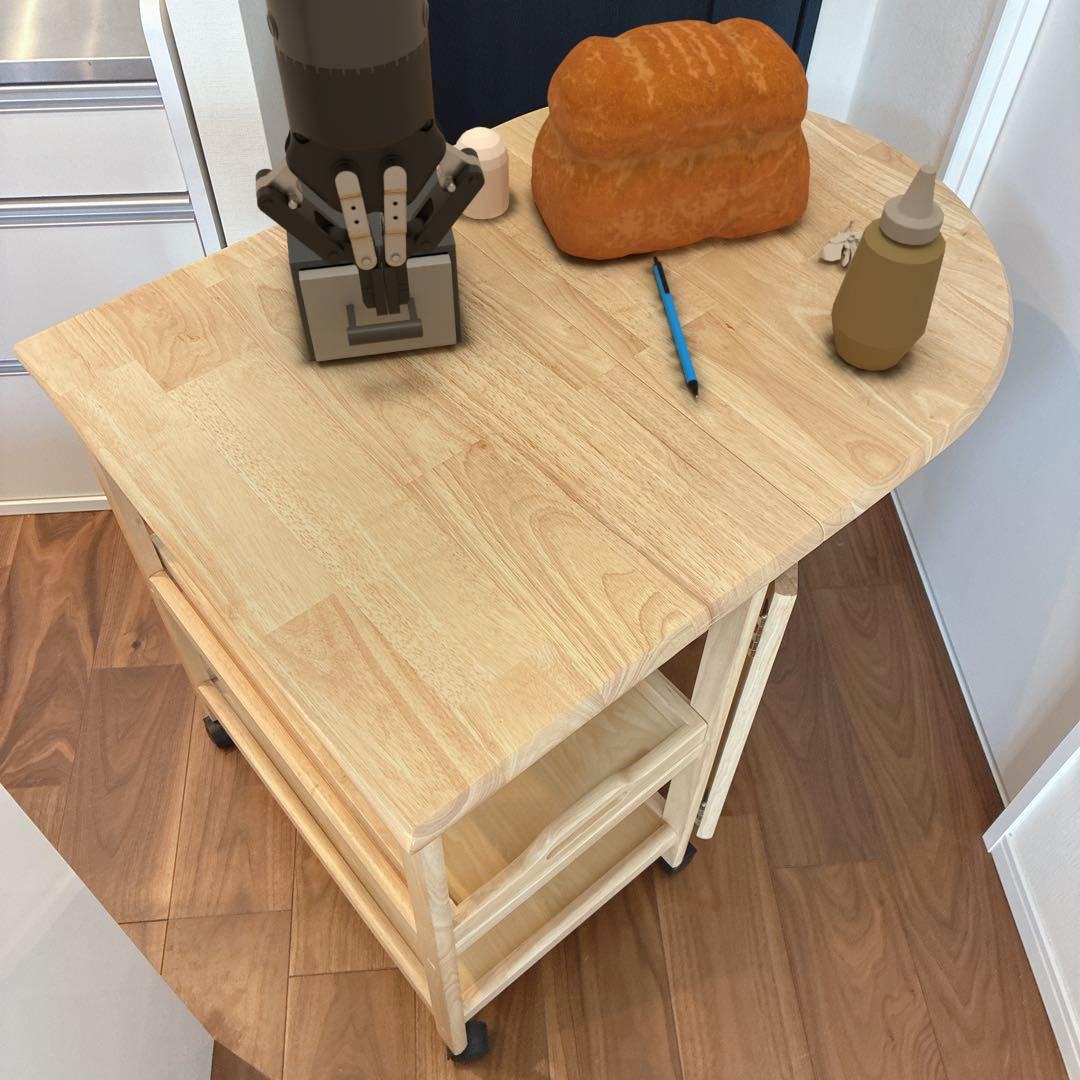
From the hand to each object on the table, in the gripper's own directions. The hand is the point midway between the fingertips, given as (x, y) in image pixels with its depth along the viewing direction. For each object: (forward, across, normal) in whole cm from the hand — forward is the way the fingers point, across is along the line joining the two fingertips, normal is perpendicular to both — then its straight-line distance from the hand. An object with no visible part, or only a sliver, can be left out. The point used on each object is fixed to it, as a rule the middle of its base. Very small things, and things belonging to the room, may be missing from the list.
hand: (386, 306), depth 65 cm
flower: (+21, -46, -24) cm, 56 cm away
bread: (+21, -30, -36) cm, 51 cm away
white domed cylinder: (+21, -12, -40) cm, 47 cm away
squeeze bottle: (+21, -42, -12) cm, 49 cm away
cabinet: (+21, 0, -27) cm, 34 cm away
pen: (+21, -26, -18) cm, 38 cm away
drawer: (+20, 0, -23) cm, 31 cm away
